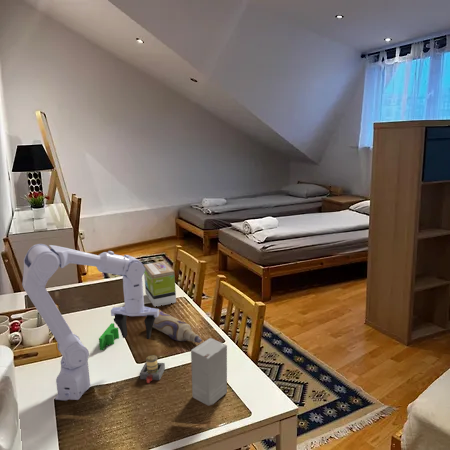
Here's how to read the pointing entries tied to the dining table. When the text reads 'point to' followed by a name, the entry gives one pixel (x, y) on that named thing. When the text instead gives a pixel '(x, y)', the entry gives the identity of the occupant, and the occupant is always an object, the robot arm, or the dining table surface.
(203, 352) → the skincare box
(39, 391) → the dining table surface
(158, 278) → the tea box
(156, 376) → the stand base
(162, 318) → the decorative bottle
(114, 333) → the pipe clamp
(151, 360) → the small wooden barrel
